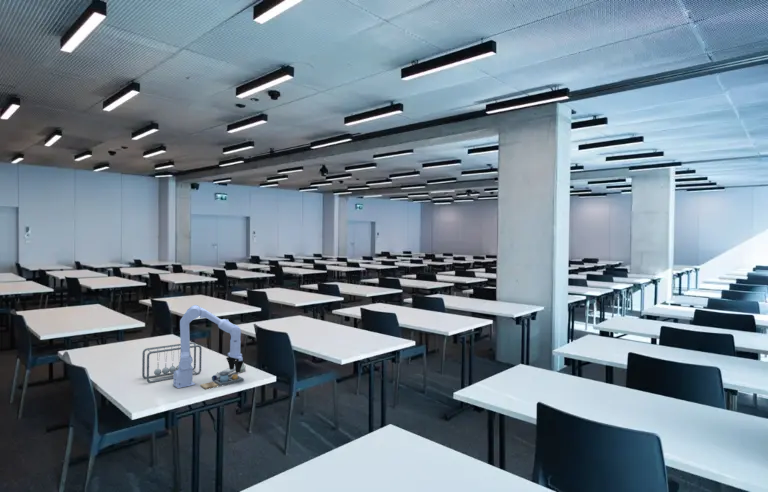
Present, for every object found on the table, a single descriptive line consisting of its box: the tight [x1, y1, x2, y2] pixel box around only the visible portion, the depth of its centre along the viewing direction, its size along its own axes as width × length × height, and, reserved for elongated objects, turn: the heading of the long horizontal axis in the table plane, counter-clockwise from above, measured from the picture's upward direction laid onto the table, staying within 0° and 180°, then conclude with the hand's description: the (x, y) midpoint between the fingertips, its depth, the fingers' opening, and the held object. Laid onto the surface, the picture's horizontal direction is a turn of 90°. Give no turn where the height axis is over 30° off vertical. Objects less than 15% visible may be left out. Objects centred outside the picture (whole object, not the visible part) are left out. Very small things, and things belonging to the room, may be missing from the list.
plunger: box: [231, 373, 239, 380], centre depth 257 cm, size 3×3×3 cm
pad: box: [200, 381, 219, 390], centre depth 246 cm, size 7×7×1 cm
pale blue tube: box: [211, 361, 246, 382], centre depth 267 cm, size 5×7×25 cm
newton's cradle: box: [141, 341, 202, 384], centre depth 263 cm, size 30×10×18 cm, turn 132°
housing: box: [213, 375, 245, 387], centre depth 255 cm, size 14×8×2 cm, turn 135°
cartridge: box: [219, 371, 230, 383], centre depth 252 cm, size 5×5×6 cm
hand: (234, 370), depth 257 cm, fingers open, 7 cm apart
